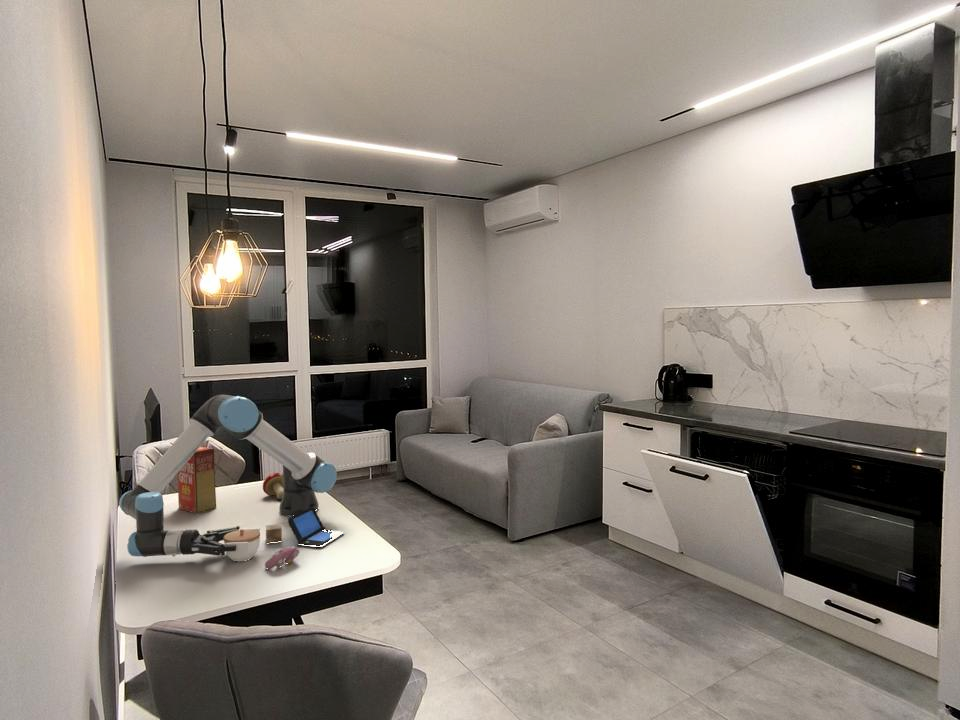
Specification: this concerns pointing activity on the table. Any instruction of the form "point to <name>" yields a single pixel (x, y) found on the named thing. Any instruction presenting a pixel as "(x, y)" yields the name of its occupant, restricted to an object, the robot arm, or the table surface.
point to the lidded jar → (243, 536)
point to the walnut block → (273, 533)
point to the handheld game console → (308, 528)
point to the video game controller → (282, 557)
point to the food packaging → (198, 482)
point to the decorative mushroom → (274, 485)
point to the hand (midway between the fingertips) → (253, 539)
